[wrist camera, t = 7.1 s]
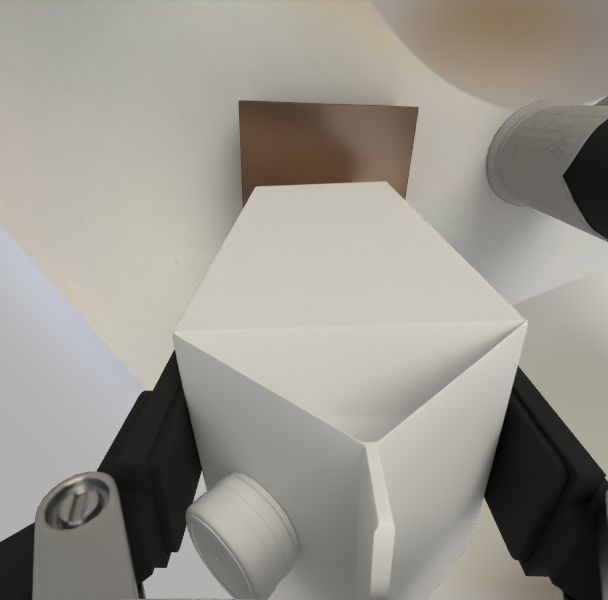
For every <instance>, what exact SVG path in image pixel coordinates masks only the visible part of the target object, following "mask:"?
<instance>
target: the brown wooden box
mask: <svg viewBox="0 0 608 600" xmlns="http://www.w3.org/2000/svg"><path fill="white" fill-rule="evenodd" d="M417 115H418V107H406V106H378V105H350V104H323V103H295V102H267V101H239V123H240V148H241V174H242V200H243V208H244V206H245V204H246V203H247V201H248V199H249V197H250V196H251V194H252V192H253V190H254V189H255V187H258V186H282V185H307V184H331V183H356V182H381V181H385V182H387V183H388V184H389V185H390V186H391V187H392V188H393V189H394V190H395V191H396V192H397V193H398V194H399V195H400V196H401V197H402V198H403V199H404V200H405V196H406V190H407V183H408V176H409V169H410V162H411V156H412V149H413V142H414V135H415V129H416V122H417Z"/></svg>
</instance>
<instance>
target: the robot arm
mask: <svg viewBox="0 0 608 600" xmlns="http://www.w3.org/2000/svg"><path fill="white" fill-rule="evenodd" d="M201 471H202V467H201V463H200V458H199V454H198V450H197V445H196V441H195V437H194V432H193V428H192V424H191V420H190V415H189V411H188V407H187V403H186V398H185V394H184V390H183V385H182V381H181V376H180V371H179V367H178V362H177V357H176V352H175V350H174V352H173V353H172V355H171V357H170V359H169V361H168V363H167V365H166V367H165V369H164V371H163V372H162V374H161V376H160V378H159V380H158V382H157V384H156V386H155V388H154V390H153V391H143V392H142V393H141V394H140V396H139V397H138V399H137V401H136V402H135V404H134V406H133V408H132V410H131V411H130V413H129V415H128V417H127V418H126V420H125V422H124V424H123V425H122V427H121V429H120V431H119V433H118V434H117V436H116V438H115V440H114V441H113V443H112V445H111V447H110V448H109V450H108V452H107V454H106V456H105V457H104V459H103V461H102V463H101V464H100V466H99V468H98V470H97V472H85V473H81V474H77V475H75V476H73V477H70V478H68V479H66V480H64V481H63V482H61V483H60V484H58V485H57V486H55V487H54V488H53V489H52V490H51V491H50V492H49V493H48V494H47V495H46V496H45V497H44V498H43V500H42V502H41V503H40V505H39V507H38V508H37V512H36V517H35V522H34V523H33V524H31V525H29V526H27V527H26V528H24V529H22V530H21V531H19V532H17V533H15V534H13V535H12V536H10V537H8V538H7V539H5V540H3V541H1V542H0V600H256V599H146V597H145V591H144V586H143V581H144V580H145V579H147V578H148V577H149V576H151V575H152V574H153V571H154V568H167V565H168V561H169V558H170V555H171V552H178V551H179V549H180V546H181V542H182V539H183V536H184V532H185V528H186V525H187V524H186V516H185V515H186V511H187V508H188V507H189V506H190V505H191V504H192V503H193V500H194V496H195V493H196V489H197V485H198V482H199V478H200V475H201ZM605 476H606V474H604V472H603V471H602V469H601V468H600V467H599V466H598V465H597V463H596V462H595V461H594V459H593V458H592V457H591V456H590V454H589V453H588V452H587V451H586V450H585V448H584V447H583V446H582V445H581V444H580V442H579V441H578V440H577V438H576V437H575V436H574V435H573V433H572V432H571V431H570V430H569V428H568V427H567V426H566V425H565V424H564V422H563V421H562V420H561V419H560V417H559V416H558V415H557V413H556V412H555V411H554V410H553V409H552V407H551V406H550V405H549V404H548V402H547V401H546V400H545V399H544V397H543V396H542V395H541V394H540V392H539V391H538V390H537V389H536V387H535V386H534V385H533V384H532V382H531V381H530V380H529V379H528V378H527V376H526V375H525V374H524V373H523V371H522V370H521V369H520V368H519V366H518V367H517V370H516V374H515V378H514V382H513V386H512V390H511V394H510V398H509V401H508V405H507V409H506V413H505V417H504V421H503V425H502V428H501V432H500V436H499V440H498V444H497V448H496V452H495V456H494V459H493V463H492V467H491V471H490V475H489V479H488V483H487V486H486V490H485V494H484V498H485V500H486V502H487V504H488V506H489V509H490V511H491V513H492V515H493V517H494V520H495V522H496V524H497V526H498V529H499V531H500V533H501V535H502V537H503V540H504V542H505V544H506V546H507V548H508V551H509V553H510V555H511V556H512V557H513V559H515V560H519V562H520V564H521V566H522V569H523V571H524V573H525V575H526V576H544V577H549V578H550V580H551V582H552V583H553V584H554V585H555V600H608V481H607V480H606V479H605Z"/></svg>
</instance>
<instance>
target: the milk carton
mask: <svg viewBox="0 0 608 600" xmlns="http://www.w3.org/2000/svg"><path fill="white" fill-rule="evenodd" d="M527 325H528V320H526V319H524V318H523V317H522V316H521V315H520V314H519V313H518V312H517V311H516V310H515V309H514V308H513V307H512V306H511V305H510V304H509V303H508V302H507V301H506V300H505V299H504V298H503V297H502V296H501V295H500V294H499V293H498V292H497V291H496V290H495V289H494V288H493V287H492V286H491V285H490V284H489V283H488V282H487V281H486V280H485V279H484V278H483V277H482V276H481V275H480V274H479V273H478V272H477V271H476V270H475V269H474V268H473V267H472V266H471V265H470V264H469V263H468V262H467V261H466V260H465V259H464V258H463V257H462V256H461V255H460V254H459V253H458V252H457V251H456V250H455V249H454V248H453V247H452V246H451V245H450V244H449V243H448V242H447V241H446V240H445V239H444V238H443V237H442V236H441V235H440V234H439V233H438V232H437V231H436V230H435V229H434V228H433V227H432V226H431V225H430V224H429V223H428V222H427V221H426V220H425V219H424V218H423V217H422V216H421V215H420V214H419V213H418V212H417V211H416V210H415V209H414V208H413V207H412V206H411V205H410V204H409V203H408V202H406V201H405V200H404V199H403V198H402V197H401V196H400V195H399V194H398V193H397V192H396V191H395V190H394V189H393V188H392V187H391V186H390V185H389V184H388V183H387V182H385V181H381V182H356V183H331V184H307V185H282V186H258V187H255V189H254V190H253V192H252V194H251V196H250V197H249V199H248V201H247V203H246V204H245V206H244V208H243V210H242V211H241V213H240V215H239V216H238V218H237V220H236V222H235V223H234V225H233V227H232V229H231V230H230V232H229V234H228V235H227V237H226V239H225V241H224V242H223V244H222V246H221V248H220V249H219V251H218V253H217V255H216V256H215V258H214V260H213V261H212V263H211V265H210V267H209V268H208V270H207V272H206V274H205V275H204V277H203V279H202V281H201V282H200V284H199V286H198V287H197V289H196V291H195V293H194V294H193V296H192V298H191V300H190V301H189V303H188V305H187V307H186V308H185V310H184V312H183V314H182V316H181V318H180V320H179V321H178V323H177V325H176V327H175V329H174V331H173V341H174V347H175V352H176V357H177V362H178V367H179V371H180V376H181V381H182V385H183V390H184V394H185V398H186V403H187V407H188V411H189V415H190V420H191V424H192V428H193V432H194V437H195V441H196V445H197V450H198V454H199V458H200V463H201V467H202V471H203V476H204V480H205V485H206V489H207V492H205V493H204V494H203V495H202V496H200V497H199V498H198V499H197V500H196V501H194V502H193V503H192V504H191V505H190V506H189V507H188V508H187V511H186V515H185V516H186V524H187V527H188V531H189V534H190V537H191V540H192V542H193V544H194V546H195V548H196V550H197V552H198V554H199V556H200V557H201V559H202V561H203V562H204V564H205V565H206V566H207V568H208V569H209V571H210V572H211V573H212V575H213V576H214V577H215V578H216V580H217V581H218V582H219V583H220V584H221V586H222V587H223V588H224V589H225V590H226V591H227V592H228V593H229V594H230V595H231V596H232V597H233V598H234V599H256V600H268V598H269V599H270V600H428V598H429V597H430V596H431V595H432V593H433V592H434V591H435V589H436V588H437V587H438V585H439V584H440V583H441V581H442V580H443V579H444V578H445V576H446V575H447V574H448V572H449V571H450V570H451V569H452V567H453V566H454V564H455V563H456V562H457V561H458V559H459V558H460V557H461V555H462V554H463V553H464V552H465V550H466V549H467V547H468V546H469V545H470V543H471V542H472V539H473V536H474V532H475V529H476V525H477V521H478V517H479V513H480V510H481V506H482V501H483V498H484V494H485V490H486V486H487V483H488V479H489V475H490V471H491V467H492V463H493V459H494V456H495V452H496V448H497V444H498V440H499V436H500V432H501V428H502V425H503V421H504V417H505V413H506V409H507V405H508V401H509V398H510V394H511V390H512V386H513V382H514V378H515V374H516V370H517V367H518V363H519V358H520V355H521V351H522V347H523V342H524V339H525V335H526V330H527Z"/></svg>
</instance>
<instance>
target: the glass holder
mask: <svg viewBox="0 0 608 600" xmlns="http://www.w3.org/2000/svg"><path fill="white" fill-rule="evenodd" d="M486 167H487V176H488V180H489V183H490V185H491V187H492V189H493V190H494V192H495V193H496V194H497V195H498V196H499V197H500V198H501V199H503V200H504V201H506V202H508V203H510V204H514V205H518V206H530V207H532V208H535V209H537V210H539V211H541V212H543V213H546V214H548V215H550V216H552V217H554V218H556V219H559V220H561V221H563V222H565V223H567V224H570V225H572V226H574V227H576V228H578V229H581V230H583V231H585V232H587V233H589V234H592V235H594V236H596V237H598V238H600V239H603V240H605V241H607V242H608V96H607V97H606V98H604V99H603V100H601V101H600V102H598V103H597V104H595V105H593V106H575V105H573V104H571V103H569V102H566V101H563V100H556V99H548V100H541V101H538V102H534V103H531V104H529V105H527V106H525V107H523V108H522V109H520V110H519V111H517V112H516V113H514V114H513V115H512V116H511V117H510V118H509V119H508V120H507V121H506V122H505V123H504V124H503V125H502V127H501V128H500V129H499V130H498V132H497V134H496V135H495V137H494V139H493V141H492V144H491V146H490V148H489V152H488V156H487V166H486Z"/></svg>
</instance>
